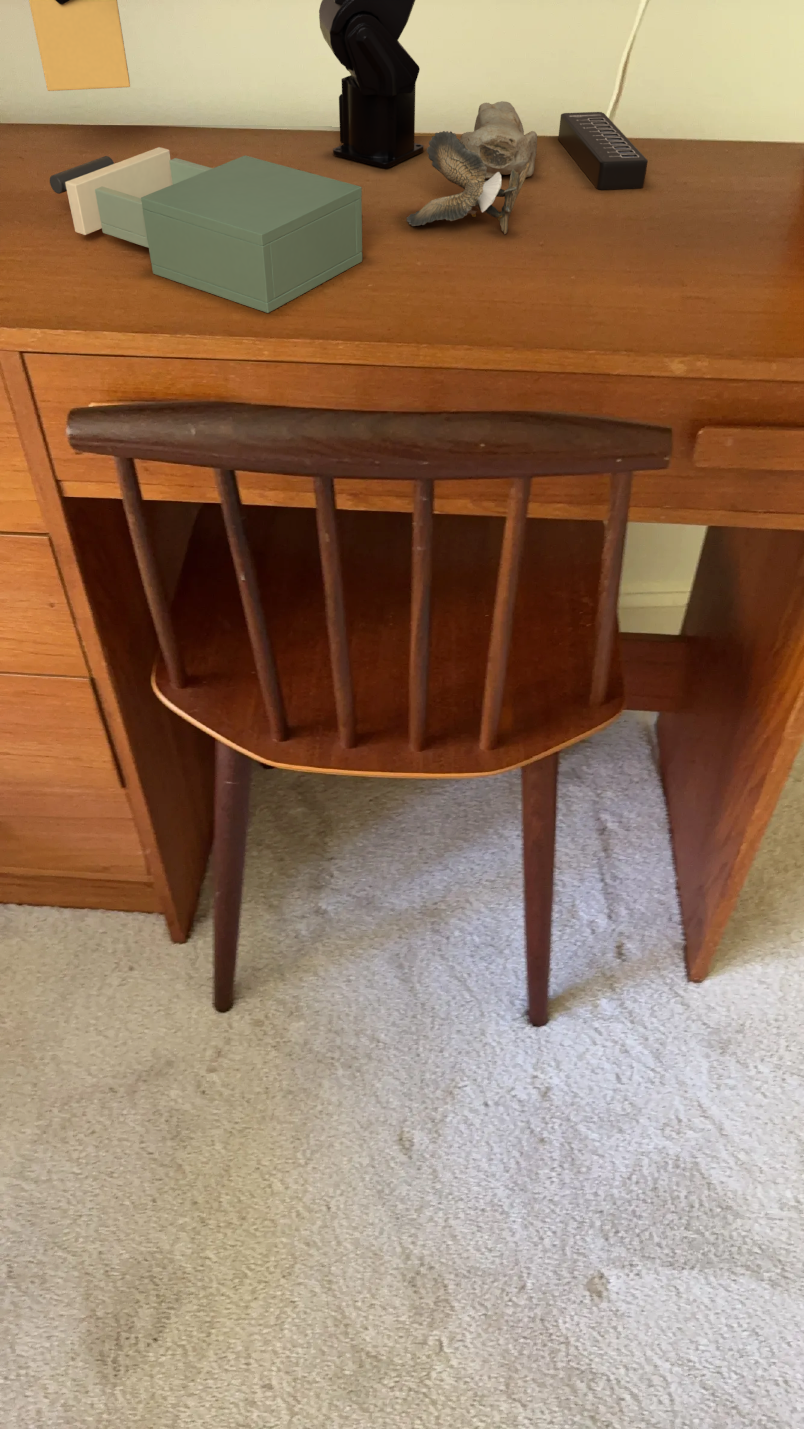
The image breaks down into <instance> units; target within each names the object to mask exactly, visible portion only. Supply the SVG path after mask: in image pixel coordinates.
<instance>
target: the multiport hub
mask: <svg viewBox="0 0 804 1429" xmlns="http://www.w3.org/2000/svg"><path fill="white" fill-rule="evenodd" d="M557 139H558V141H559V143H560V144H561V145H562V146H563V148H564V149H565V150H566V152H567V153H568V154H569V155H570V157H571V158H572V159H573V160H574V162H575V163H576V164H577V165H578V167H579V168H580V170H582V172H583V173H584V174H585V176H586V177H587V178H588V179H589V181H590V182H591V183H592V185H593V186H594V187H595V188H596V190H601V191H609V190H631V189H643V188H644V186H645V180H646V175H647V174H646V173H647V169H648V162H649V160H648V159H647V158H646V156H645V155H643V153H642V152H641V151H640V149H638V148H637V147H636V146H635V145H634V143H633V142H632V141H631V140H629V138H628V137H627V136H626V135H625V134H624V133H623V132H622V131H621V129H619V127H618V126H616V124H615V123H614V122H613V121H612V120H611V119H610V118H609V117H608V116H607V114H605V113H604V112H602V111H587V112H586V111H585V112H563V113H561V114H560V119H559V129H558V136H557Z"/></svg>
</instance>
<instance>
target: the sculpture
mask: <svg viewBox="0 0 804 1429" xmlns="http://www.w3.org/2000/svg"><path fill="white" fill-rule="evenodd" d="M459 140H460V142H461V143H462V144H464V145H465V148H466V149H468V151H472V152H476V153H477V154H478V155H479V157H480V158H481V160H482V161H483V163H484V166H486V168H487V170H486V171H487V174H486V177H485V180H489V179H490V178H491V177H493V176H494V175H495V174H496V173H497V172H500V174H501V176H508V175H511V171H512V169H514V170H515V171H516V172H517V173H519V176H520V174H521V172H522V171H523V169H524V168H525V166H526V164H527V163H530V167H529V170H528V173H527V176H526V178H529V177H531V176H533V175H534V172H535V167H536V165H535V163H536V156H537V152H538V151H537V150H538V134H537V133H536V131H535V130H531V131H529V132H527V133H525V129H524V126H523V123H522V120H521V119H520V116H519V114H518V112H517V111H516V109H515V107H514V106H513V105H512V103H511V102H509V101H505V100H504V101H503V100H502V101H497V102H494V103H490V102H483V103H480V104H479V107H478V112H477V115H476V118H475V122H474V128H473V130H472V131H466V132H463V133H462V135H461V136H460V138H459Z"/></svg>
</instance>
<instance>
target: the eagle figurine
mask: <svg viewBox="0 0 804 1429" xmlns="http://www.w3.org/2000/svg"><path fill="white" fill-rule="evenodd" d="M428 145H429V146H427V148H426V153H427V154H428V159H429V161H431V166H432V167H433V168H434V169H435V170H436V171H438V172H439V173H441V174H442V175H443V177H444V178H445V179H446V180H447V181H449V182H450V183H452V184H454V185H456V186H459V187H460V188H462V189H463V191H461V192H459V193H455V194H451V195H448V196H447V195H446V196H442V197H438V198H434V199H431V200H430V201H429V202H427V203H426V204H424V206H423V207H421V209H419V210H418V211H416V212H415V213H411V214H409V215H408V216H406V222H407V223H408V225H411V226H412V227H416V226H417V227H419V226H421V225H422V226H425V225H426V224H427V223H434V222H435V221H444V220H446V221H450V222H453V221H457V220H459V219H463V218H464V217H466V216H467V215H471V217H472V218H476V217H477V215H476V214H477V212H479V211H480V212H481V213H484V214H485V213H486V214H487V215H489V216H490V217H491V218H494V219H497V221H498V222H499V225H500V230H501V232H503V234H504V235H506V234H508V230H509V220H510V219H509V218H510V217H511V214H512V211H513V209H514V206H515V203H516V200H517V198H518V195H519V193H520V192H521V190H522V187H523V185H524V182H525V180H526V178H527V177H526V176H527V173H528V170H529V167H530V163H527V164H526V166H525V168H524V169H523V171H522V172H521V174H520V175H519V173H517V172H516V171H515V170H514V169H512V171H511V174H509V175H510V176H509V182H508V187H507V189H503V188H502V184H503V183H502V181H503V180H502V176H503V175H502V174H500V172H497V173H496V174H495V175H494V176H493V177H491V178H489V179H485V177H486V174H487V171H486V170H487V168H486V166H484V163H483V161H482V160H481V158H480V157H479V155H478V154H477V153H476V152H472V151H468V149H466V148H465V145H464V144H462V143H461V142H460V138H457V134H456V133H455V132H452V131H449V130H446V131H445V130H443V131H439V132H435V133H434V135H433V136H432V137H431V139H430V140H429V141H428ZM496 197H498V198H504V202H503V206H502V207H501V211H499V210H498V209H497V208H496V206H493V205H492V204H494V202H495V200H496Z"/></svg>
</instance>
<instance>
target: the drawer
mask: <svg viewBox="0 0 804 1429" xmlns="http://www.w3.org/2000/svg"><path fill="white" fill-rule="evenodd" d="M213 168H214V167H210V166H206V165H203V164H200V163H195V162H193V161H188V160H185V159H181V158H177V157H174V158H171V153H170V149H167V148H165V147H161V146H158V147H156V148H152V149H150V150H148V151H145V152H142V153H140V154H137V155H134V156H132V157H129V158H127V159H124V160H120V161H119V162H116V163H115V162H114V160H113V159H112V158H111V157H110V156H109V155H103V156H101V157H99V158H95V159H93V160H90V161H87V162H85V163H81V164H80V165H77V166H74V167H71V168H69V169H66V170H63V171H60V172H57V173H55V174H52V175H50V176H49V184H50V187H51V189H52V191H53V192H54V193H56V194H58V195H59V194H64V193H66V194H67V198H68V203H69V208H70V214H71V218H72V223H73V228H74V231H75V233H77V234H81V235H83V236H87V235H90V234H93V233H94V232H98V231H99V230H101V231H102V234H105V235H108V236H111V237H115V238H117V239H121V240H123V241H126V242H129V243H131V244H136V245H139V246H141V247H145V248H148V249H149V247H148V240H147V234H146V228H145V221H144V215H143V208H142V202H141V197H144V196H146V195H148V194H151V193H153V192H156V191H158V190H161V189H163V188H166V187H168V186H171V185H173V184H176V183H178V182H181V181H183V180H185V179H188V178H190V177H193V176H195V175H198V174H200V173H203V172H205V171H208V170H210V169H213Z"/></svg>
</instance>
